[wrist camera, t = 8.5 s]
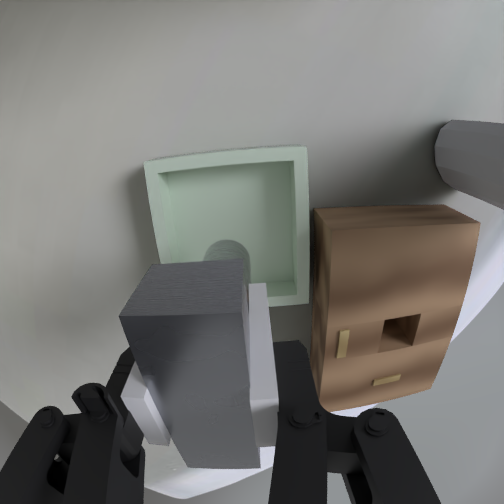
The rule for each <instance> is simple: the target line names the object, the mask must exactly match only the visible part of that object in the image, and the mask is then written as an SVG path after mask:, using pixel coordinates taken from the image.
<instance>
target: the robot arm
mask: <svg viewBox="0 0 504 504" xmlns="http://www.w3.org/2000/svg"><path fill="white" fill-rule="evenodd" d="M249 324H250V405H251V413H252V420H253V427H254V434H255V441H256V447H270V446H276V447H275V456H274V464H273V473H272V480H271V487H270V494H269V502H268V504H327V472H332V473H341V474H342V477H343V480H344V483H345V486H346V489H347V492H348V494H349V498H350V501H351V503H352V504H441V502H440V500H439V498H438V496H437V494H436V492H435V490H434V488H433V486H432V484H431V482H430V480H429V478H428V476H427V474H426V472H425V470H424V468H423V466H422V464H421V462H420V460H419V458H418V456H417V455H416V453H415V451H414V449H413V447H412V445H411V443H410V441H409V439H408V438H407V436H406V434H405V432H404V430H403V428H402V426H401V425H400V423H399V421H398V419H397V418H396V417H395V415H393V413H391V412H389V411H387V410H386V409H380V408H373V409H368V410H366V411H364V412H362V413H360V415H359V416H358V417H347V416H339V415H335V414H332V413H330V412H328V411H327V410H325V409H324V408H323V407H322V405H321V404H320V402H319V400H318V396H317V391H316V387H315V383H314V379H313V375H312V370H311V366H310V362H309V358H308V354H307V350H306V348H305V347H304V346H303V345H302V344H301V342H300V341H299V340H296V341H285V342H272V333H271V324H270V315H269V306H268V298H267V289H266V283H254V284H249ZM71 397H72V399H73V400H74V402H75V403H76V405H77V406H78V408H79V409H80V411H81V412H82V413H80V414H70V415H63V413H62V412H61V411H60V409H58V408H57V407H54V406H47V407H44V408H42V409H40V410H39V411H38V412H37V413H36V414H35V415H34V417H33V418H32V420H31V421H30V423H29V425H28V426H27V428H26V429H25V431H24V433H23V434H22V436H21V438H20V439H19V441H18V442H17V444H16V445H15V447H14V449H13V450H12V452H11V454H10V456H9V457H8V459H7V461H6V463H5V464H4V466H3V468H2V470H1V472H0V504H143V496H144V469H145V450H144V448H143V447H142V446H141V445H142V441H143V437H145V438H146V440H147V442H148V443H149V444H156V445H166V446H169V443H170V438H171V435H170V433H169V432H168V430H167V428H166V426H165V424H164V422H163V420H162V418H161V416H160V414H159V412H158V410H157V408H156V406H155V404H154V402H153V399H152V397H151V395H150V393H149V391H148V389H147V387H146V385H145V382H144V380H143V378H142V376H141V373H140V371H139V368H138V366H137V364H136V361H135V359H134V356H133V354H132V351H131V348H130V347H129V348H128V349H127V350H125V351H124V352H123V353H122V354H121V356H120V358H119V360H118V362H117V366H115V368H114V370H113V373H112V374H111V377H110V379H109V381H108V383H107V385H106V387H104V386H103V385H101V384H99V383H88V384H85V385H82V386H80V387H79V388H78V389H77V390H75V391H74V393H73V395H72V396H71ZM56 454H58V456H59V457H58V459H56V460H54V458H55V456H56Z"/></svg>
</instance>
